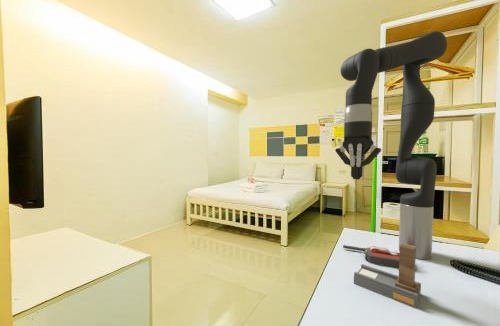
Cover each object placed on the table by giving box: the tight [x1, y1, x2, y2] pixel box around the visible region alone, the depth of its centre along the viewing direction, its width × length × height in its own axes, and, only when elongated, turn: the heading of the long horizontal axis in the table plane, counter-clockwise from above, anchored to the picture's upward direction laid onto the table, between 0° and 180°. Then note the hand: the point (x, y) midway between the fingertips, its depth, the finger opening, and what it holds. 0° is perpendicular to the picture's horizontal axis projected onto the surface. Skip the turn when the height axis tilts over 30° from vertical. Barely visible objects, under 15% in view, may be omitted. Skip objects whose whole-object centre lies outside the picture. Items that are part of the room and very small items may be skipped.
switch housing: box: [353, 263, 422, 309], centre depth 56 cm, size 7×14×3 cm, turn 46°
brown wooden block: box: [395, 243, 419, 293], centre depth 53 cm, size 4×4×10 cm
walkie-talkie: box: [342, 244, 400, 269], centre depth 73 cm, size 9×4×20 cm
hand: (356, 179), depth 66 cm, fingers closed
